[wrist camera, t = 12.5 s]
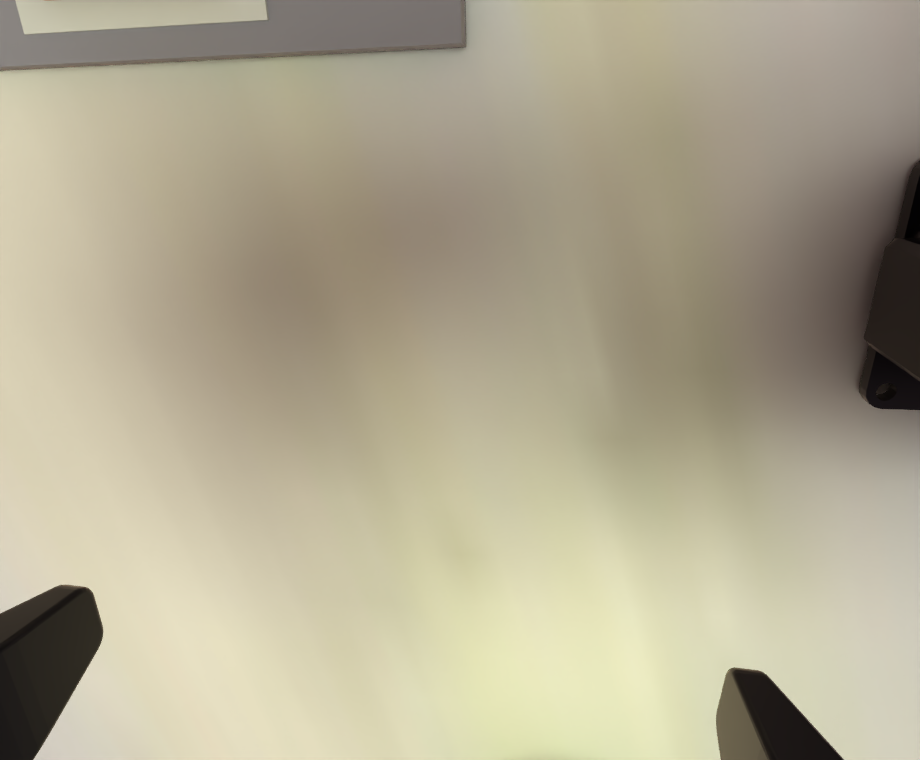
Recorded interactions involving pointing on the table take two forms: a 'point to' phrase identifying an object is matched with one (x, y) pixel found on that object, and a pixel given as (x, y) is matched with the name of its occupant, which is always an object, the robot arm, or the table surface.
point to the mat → (217, 29)
